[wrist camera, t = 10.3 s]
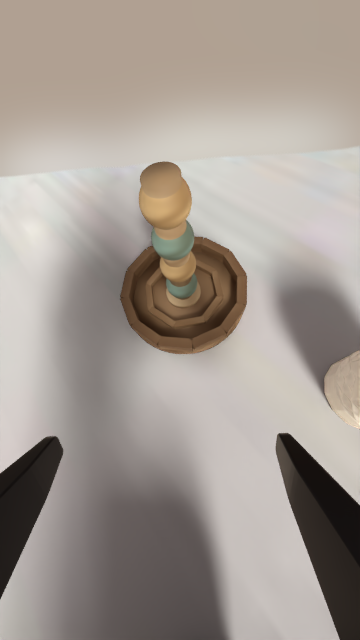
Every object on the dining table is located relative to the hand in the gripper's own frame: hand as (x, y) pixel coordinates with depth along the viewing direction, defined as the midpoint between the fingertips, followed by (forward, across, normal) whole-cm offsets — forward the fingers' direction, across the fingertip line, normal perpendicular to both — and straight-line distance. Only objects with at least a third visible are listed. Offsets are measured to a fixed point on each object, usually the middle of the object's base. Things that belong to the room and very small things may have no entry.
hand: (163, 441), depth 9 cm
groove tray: (+19, 0, 0) cm, 19 cm away
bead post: (+19, 0, -1) cm, 19 cm away
